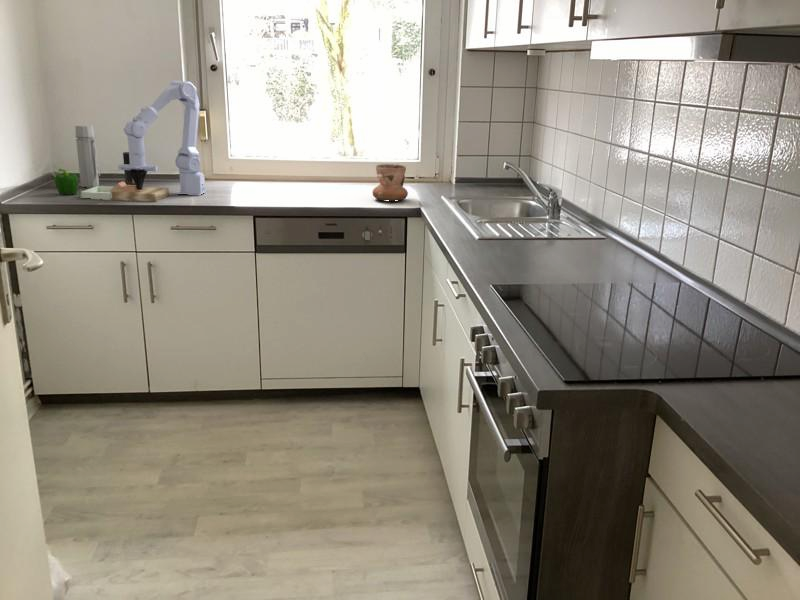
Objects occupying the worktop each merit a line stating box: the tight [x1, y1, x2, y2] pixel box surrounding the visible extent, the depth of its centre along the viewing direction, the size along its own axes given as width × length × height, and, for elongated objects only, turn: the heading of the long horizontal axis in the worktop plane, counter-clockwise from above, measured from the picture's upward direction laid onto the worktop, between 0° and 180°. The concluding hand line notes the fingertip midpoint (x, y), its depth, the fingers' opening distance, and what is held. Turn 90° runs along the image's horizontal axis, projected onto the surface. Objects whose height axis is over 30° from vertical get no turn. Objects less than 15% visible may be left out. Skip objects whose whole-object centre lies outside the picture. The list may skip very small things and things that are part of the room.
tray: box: [79, 185, 114, 201], centre depth 279 cm, size 12×15×2 cm
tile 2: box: [122, 185, 140, 193], centre depth 274 cm, size 5×5×2 cm
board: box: [111, 186, 170, 203], centre depth 278 cm, size 17×14×3 cm
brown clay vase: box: [372, 163, 409, 201], centre depth 291 cm, size 18×14×14 cm
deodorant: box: [122, 151, 135, 185], centre depth 293 cm, size 6×6×15 cm
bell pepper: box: [54, 168, 80, 196], centre depth 278 cm, size 8×8×10 cm
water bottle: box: [74, 124, 101, 189], centre depth 293 cm, size 9×8×25 cm
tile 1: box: [110, 180, 126, 193], centre depth 281 cm, size 5×5×2 cm
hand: (139, 189), depth 274 cm, fingers closed
